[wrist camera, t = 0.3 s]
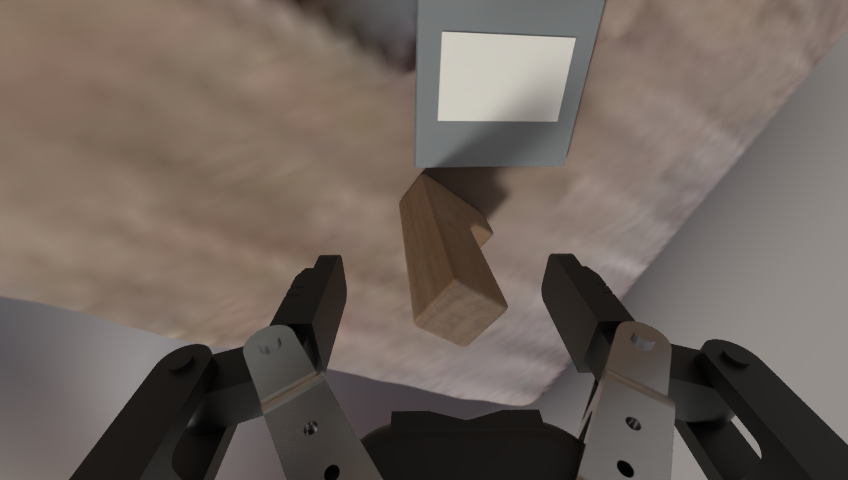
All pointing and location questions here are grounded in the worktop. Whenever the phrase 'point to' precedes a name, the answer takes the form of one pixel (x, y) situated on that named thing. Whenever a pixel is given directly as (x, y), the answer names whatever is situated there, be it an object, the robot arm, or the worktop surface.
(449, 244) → the wooden block
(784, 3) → the worktop surface
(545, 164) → the socket board
